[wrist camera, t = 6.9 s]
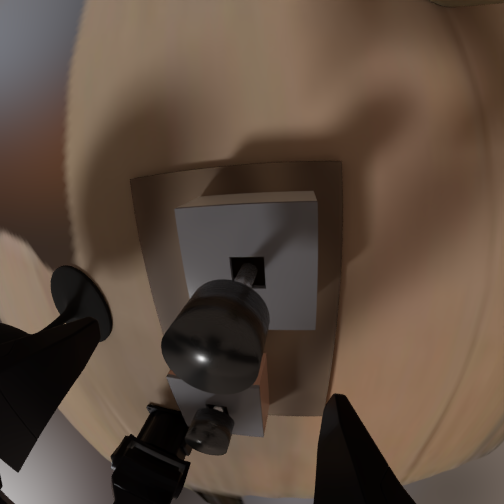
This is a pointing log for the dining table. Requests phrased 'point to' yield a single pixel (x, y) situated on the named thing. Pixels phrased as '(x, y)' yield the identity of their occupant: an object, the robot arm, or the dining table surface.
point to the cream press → (256, 248)
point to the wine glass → (70, 303)
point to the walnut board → (329, 264)
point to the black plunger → (219, 335)
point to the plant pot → (465, 2)
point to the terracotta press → (228, 402)
